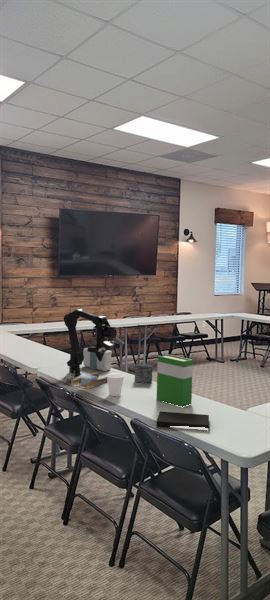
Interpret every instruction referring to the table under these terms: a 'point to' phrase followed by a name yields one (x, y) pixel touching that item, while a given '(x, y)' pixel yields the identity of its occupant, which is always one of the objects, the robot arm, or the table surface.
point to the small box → (143, 373)
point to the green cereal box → (174, 380)
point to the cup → (115, 383)
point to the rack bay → (89, 384)
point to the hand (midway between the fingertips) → (100, 361)
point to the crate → (87, 379)
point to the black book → (182, 419)
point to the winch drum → (69, 377)
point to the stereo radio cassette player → (93, 361)
